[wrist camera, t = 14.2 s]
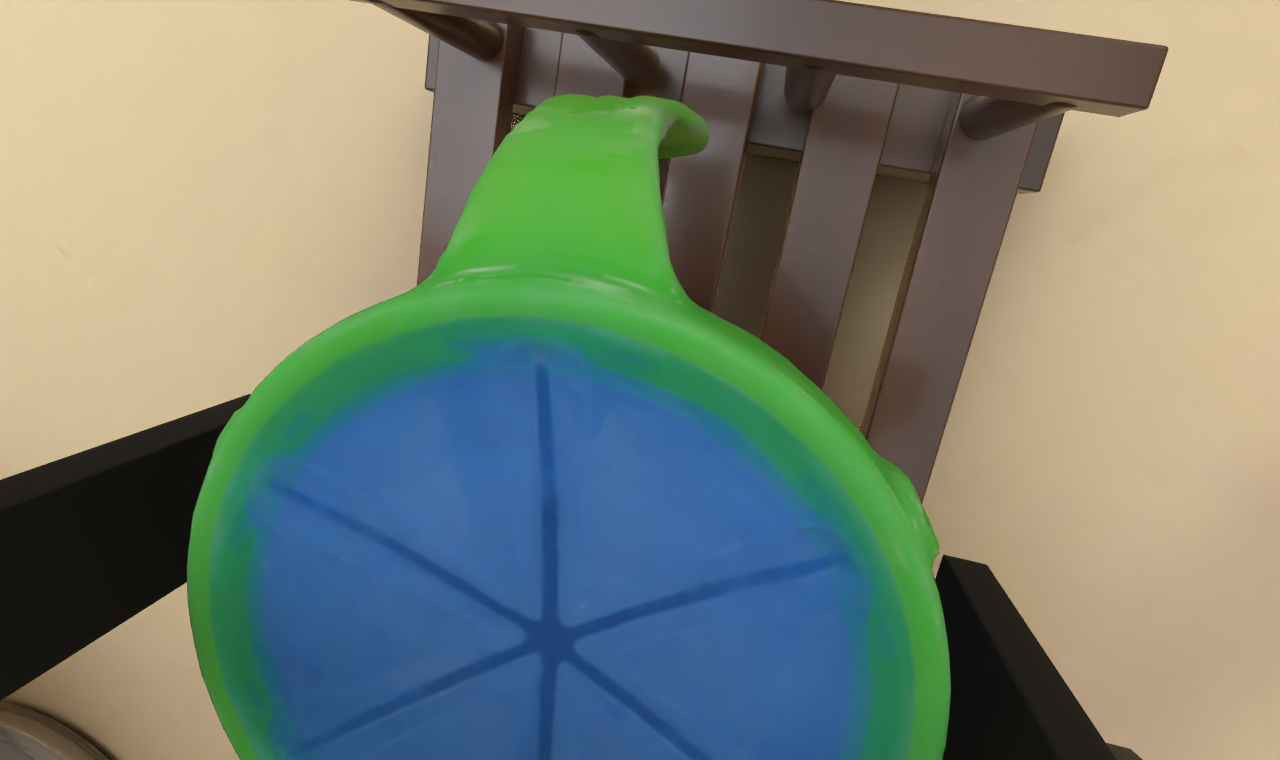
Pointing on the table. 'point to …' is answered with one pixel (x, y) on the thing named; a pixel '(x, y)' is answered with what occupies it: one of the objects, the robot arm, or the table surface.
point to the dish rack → (797, 149)
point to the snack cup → (562, 507)
